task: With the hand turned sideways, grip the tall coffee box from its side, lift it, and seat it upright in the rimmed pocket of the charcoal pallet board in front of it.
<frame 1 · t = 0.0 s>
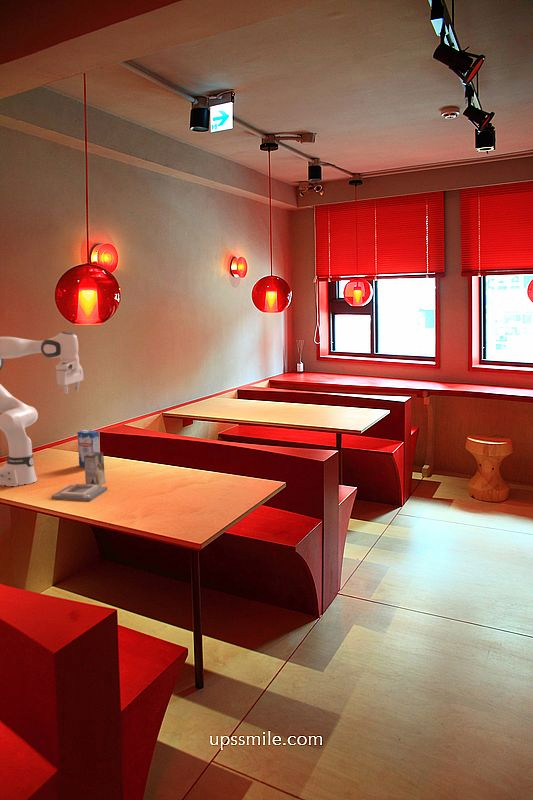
hand: (71, 392, 307), 48 cm above the table, tool pointing down, fingers open, 8 cm apart
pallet: (80, 494, 299), on the table
coffee box: (95, 485, 315), on the table
milk carton: (89, 466, 351), on the table
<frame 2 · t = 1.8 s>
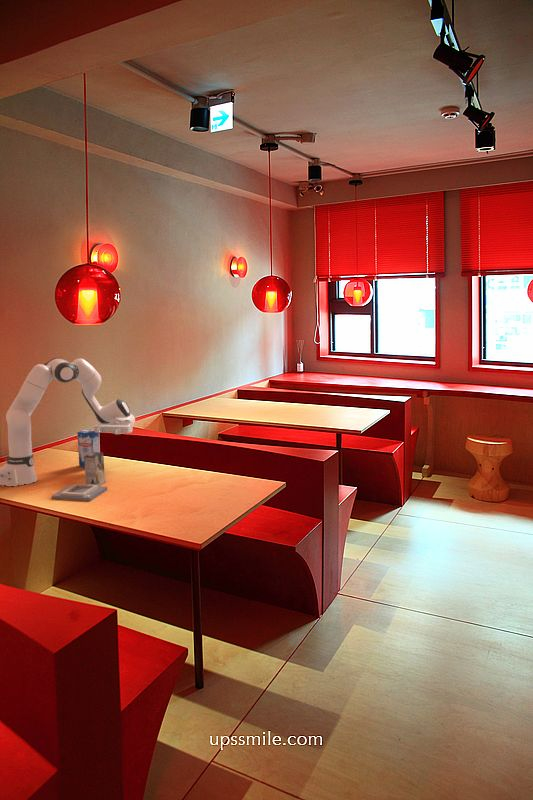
hand: (106, 431, 325), 25 cm above the table, tool horizontal, fingers open, 8 cm apart
nothing on the table moved.
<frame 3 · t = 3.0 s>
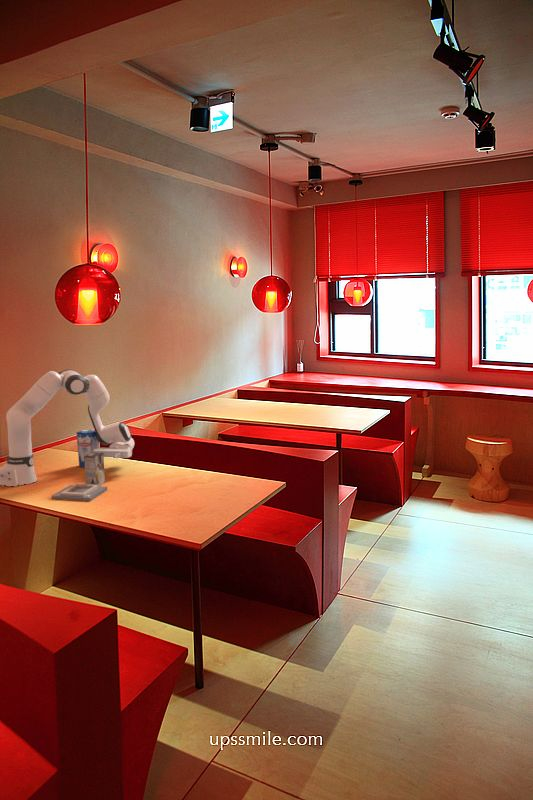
hand: (105, 456, 325), 12 cm above the table, tool horizontal, fingers open, 8 cm apart
nothing on the table moved.
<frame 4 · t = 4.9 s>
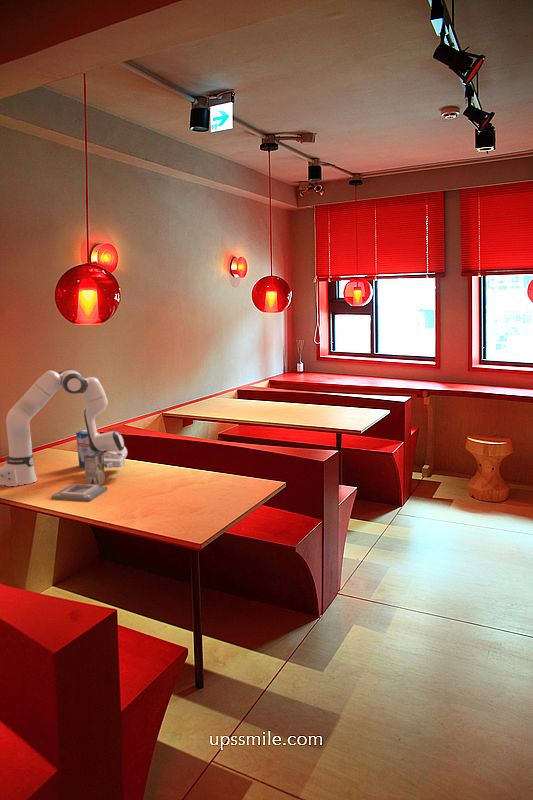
hand: (97, 465, 317), 9 cm above the table, tool horizontal, fingers open, 8 cm apart
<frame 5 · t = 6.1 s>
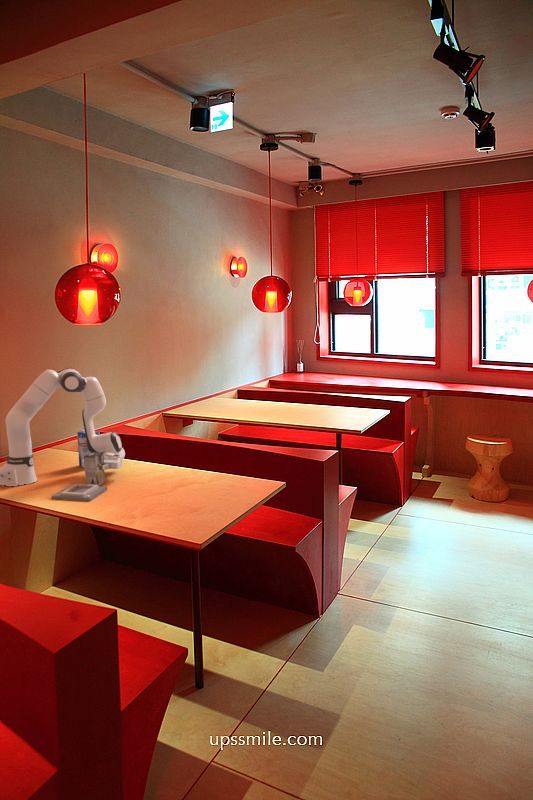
hand: (94, 467, 313), 9 cm above the table, tool horizontal, fingers closed on coffee box, 6 cm apart
coffee box: (95, 484, 315), on the table, touching gripper
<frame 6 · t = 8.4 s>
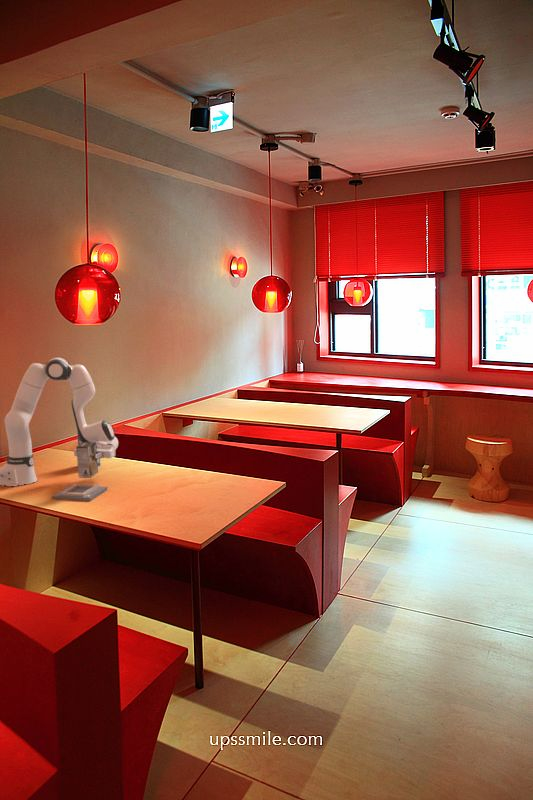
hand: (87, 456, 306), 17 cm above the table, tool horizontal, fingers closed on coffee box, 6 cm apart
coffee box: (88, 475, 308), point 7 cm above the table, touching gripper
everything else where it was.
when the fingers open (12 cm above the table, at t = 10.9 s): coffee box stays where it is, resting on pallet.
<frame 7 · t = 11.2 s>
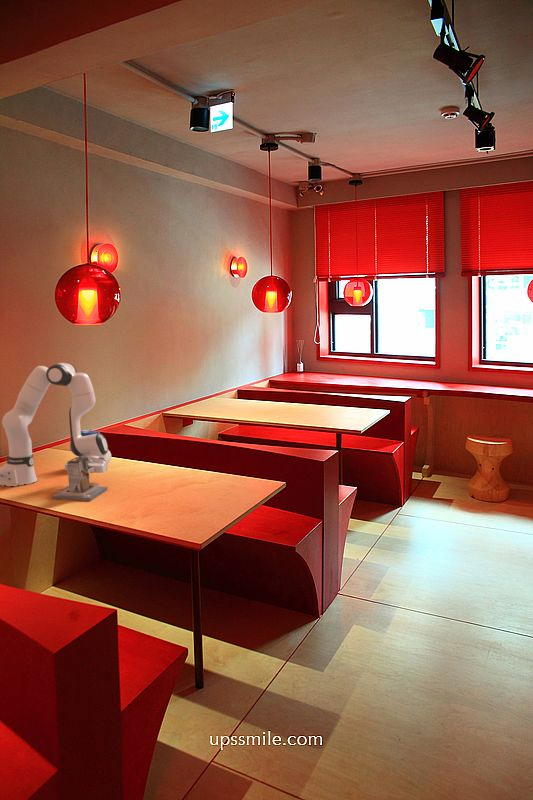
hand: (78, 471, 297), 12 cm above the table, tool horizontal, fingers open, 8 cm apart
coffee box: (79, 491, 299), point 1 cm above the table, touching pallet
everything else where it was.
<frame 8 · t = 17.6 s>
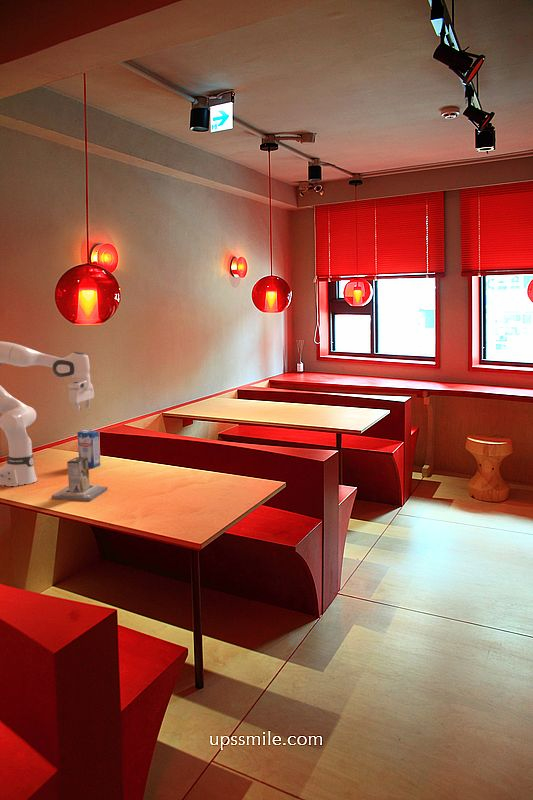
hand: (83, 409, 320), 37 cm above the table, tool pointing down, fingers open, 8 cm apart
nothing on the table moved.
at the end: coffee box 0.5 cm off-centre on the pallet, point 1.3 cm above the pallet's base; coffee box tilted 0°; the gripper is holding nothing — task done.
